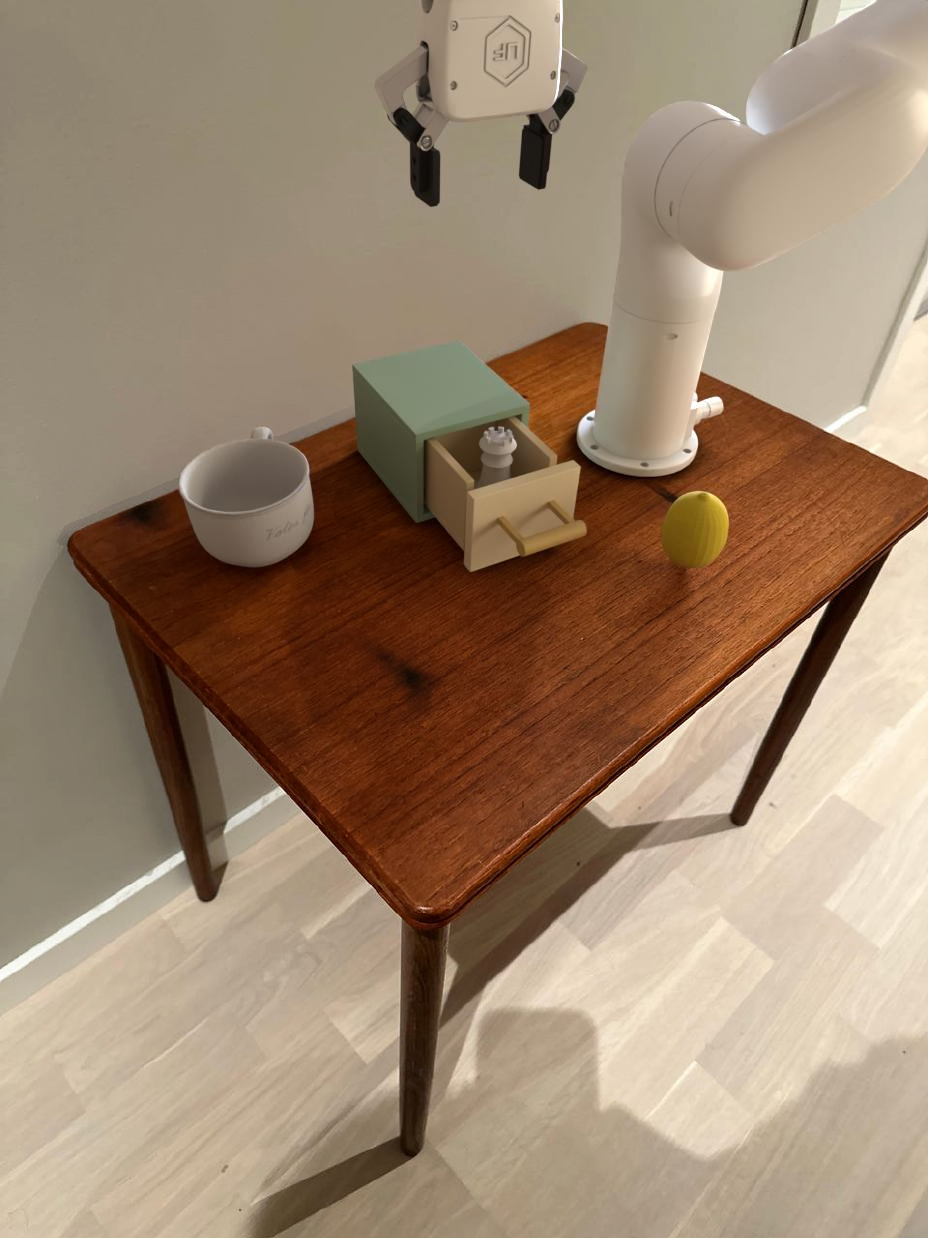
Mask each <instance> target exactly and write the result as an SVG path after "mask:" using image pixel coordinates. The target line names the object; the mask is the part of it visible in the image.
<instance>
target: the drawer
mask: <svg viewBox="0 0 928 1238" xmlns="http://www.w3.org/2000/svg"><path fill="white" fill-rule="evenodd" d="M499 426H500V427H504V432H507V430H508V429H509V430H511V431H512V435H513V438H514V440H515V441H516V444H517V446H516V449H515V450H514V451H513V452H512V453H511V456H512V458H513V461H512V463H511V464H510V477H511V479H508V480H505V481H501V482H498V483H495V484H491V485H488V486H485V487H481V488H478V489H475V490H474V487H475V486H476V484H477V482H478V481H480V477H481V472H482V467H483V462H482V461H481V456H482V454H483V453H484V451H483V450H482V449H481V448H480V445H479V442H480V439H481V438H482V437H483V436H484V432H485V431H488V428H490V427H494V431H498V427H499ZM423 441H424V504H425V505H426V506H427V508H428V509H429V510H430V511H431V512H432V514H433V515H434V516H435V519H436V520H437V521H438V522H439V523H440V525H441V526H442V527H443V528H444V529H445V530H446V532H447V533H448V534H449V536H451V538H452V539H453V540H454V541H455V542H456V544H457V545H458V547H459V548H460V549H461V550H462V551H463V552H464V553H463V565H464V567H465V568H466V569H467V571H468V572H469V573H472V572H476V571H478V570H481V569H485V568H487V567H490V566H493V565H496V564H498V563H501V562H504V561H507V560H511V559H513V558H516V557H519V556H520V557H522V558H524V557H527V556H530V555H533V554H536V553H538V552H539V553H540V552H542V551H544V550H548V549H551V548H554V547H557V546H559V545H562V544H565V543H568V542H571V541H575V540H578V539H580V538H583V537H586V535H587V529H588V528H587V526H586V523H585V522H584V520H582V519H578V520H575V519H574V514H575V508H576V500H577V495H578V487H579V481H580V474H581V469H582V467H581V465H579V464H578V463H577V462H576V461H575V460H574V459H572V460H568V461H565V462H561V463H558V464H557V462H558V455H557V454H556V452H554V451H553V450H552V449H551V448H550V447H548V445H546V443H545V442H543V441H542V440H541V439H540V438H539V437H538V436H537V435H536V434H535V433H533V431H532V430H530V428H529V427H528V428H527V427H526V426H525V425H524V424H523V423H522V422H520V421H519V420H518V419H517V418H516V417H515V416H512V417H508V418H504V419H501V420H497V421H493V422H489V423H486V424H482V425H478V426H475V427H471V428H467V429H463V430H460V431H456V432H452V433H449V434H445V435H441V436H437V437H434V438H430V439H426V440H423Z"/></svg>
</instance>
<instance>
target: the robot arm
mask: <svg viewBox="0 0 928 1238" xmlns="http://www.w3.org/2000/svg"><path fill="white" fill-rule="evenodd" d="M417 5H418V6H417V16H416V18H417V19H416V31H415V49H414V50H413V51H412V52H410V53H409V54H407V55H406V56H405V57H404V58H402V59H401V60H400V61H398V62H397V63H396V64H395V65H393V66H392V67H391V68H389V69H388V70H387V71H385V72H384V73H383V74H382V75H380V76H379V77H378V78H377V79H376V80H375V82H374V89H375V92H376V94H377V96H378V98H379V100H380V103H381V105H382V107H383V109H384V110H385V112H386V117H387V119H388V121H389V122H390V123H391V124H392V125H393V126H394V127H395V129H396V130H397V131H399V133H401V135H402V136H403V138H404V139H405V140H406V141H408V143H409V182H410V187H411V190H412V191H413V193H414V196H415V197H416V198H417V199H419V200H420V201H421V202H423V203H424V204H426V205H427V206H428V207H430V208H433V207H438V205H439V204H440V202H441V151H440V150H439V149H437V148H435V143H436V142H437V141H438V139H439V137H440V136H441V134H442V132H443V131H444V130H445V128H446V126H447V124H448V123H449V121H450V122H454V123H470V122H479V121H480V122H481V121H488V120H497V119H503V118H504V119H506V118H512V117H520V116H526V118H527V120H528V123H529V124H524V125H523V127H522V130H521V136H520V137H521V138H520V154H519V166H518V167H519V168H518V177H519V179H520V180H521V181H522V182H524V183H526V184H527V185H530V186H531V187H532V188H534V189H536V190H538V191H540V190H545V189H546V187H547V179H548V172H549V171H550V164H551V153H552V152H551V151H552V142H553V135H555V134H557V133H558V132H559V130H560V128H561V121H562V120H563V118H564V117H565V116H566V115H567V113H568V112H569V111H570V110H571V108H572V107H573V105H574V104H575V101H576V96H575V95H576V93H578V92H579V89H580V87H581V85H582V82H583V81H584V78H585V77H586V74H587V72H588V64H587V63H586V62H585V61H584V60H582V59H581V58H579V57H578V56H577V55H575V54H573V53H572V52H571V51H569V50H568V49H566V48H565V47H563V46H562V40H563V39H562V38H563V37H562V36H563V35H562V34H563V33H562V31H563V29H562V28H563V0H418V4H417ZM414 83H415V84H414ZM413 84H414V86H415V94H416V95H415V96H416V99H417V101H418V104H417V106H416V107H415V109H414V110H413V112H412V113H411V112H410V111H409V110H408V108H407V105H406V102H405V99H404V94H405V91H406V90H407V89H408V88H409V87H411V86H412V85H413ZM745 119H746V123H745V122H743V121H742V120H740V119H738V118H737V117H735V116H733V115H732V114H730V113H727V112H726V111H724V110H722V109H721V108H719V107H717V106H714V105H712V104H709V103H707V102H706V103H705V102H702V101H697V100H681V101H675V102H672V103H669V104H666V105H664V106H662V107H660V108H659V109H657V110H656V111H654V112H653V113H652V114H651V115H649V117H647V118H646V120H645V121H644V122H643V123H641V126H640V127H639V128H638V129H637V131H636V133H635V134H634V136H633V137H632V140H631V142H630V144H629V146H628V149H627V152H626V155H625V160H624V163H623V170H622V175H621V176H622V177H621V191H620V193H621V195H620V196H621V197H620V203H621V204H620V205H621V210H620V211H621V217H620V218H621V221H620V222H621V223H620V225H621V226H620V244H619V245H620V246H619V253H618V254H619V255H618V263H617V270H616V277H615V283H614V290H613V294H612V300H611V301H612V302H611V307H610V313H609V320H608V327H607V332H606V338H605V345H604V352H603V359H602V364H601V365H602V366H601V371H600V377H599V384H598V391H597V397H596V403H595V408H594V409H593V410H591V411H589V412H587V413H586V414H585V415H584V416H583V417H581V419H580V421H579V422H578V425H577V428H576V429H577V430H576V443H577V446H578V448H579V449H580V451H581V452H582V453H583V454H584V455H585V456H586V457H587V458H588V459H589V460H591V461H592V462H593V463H595V464H596V465H598V466H600V467H602V468H604V469H606V470H609V471H612V472H615V473H617V474H621V475H626V476H632V477H641V478H642V477H643V478H648V477H649V478H650V477H663V476H667V475H672V474H675V473H677V472H680V471H682V470H683V469H685V468H686V467H688V466H689V465H690V464H691V463H692V462H693V461H694V459H695V458H696V455H697V452H698V446H699V439H698V436H697V434H696V432H695V431H694V428H695V427H694V426H695V425H698V424H700V422H701V420H702V419H703V420H704V419H709V418H712V417H716V416H719V415H721V414H722V413H723V411H724V402H723V400H722V398H720V397H719V396H713V397H709V398H706V399H703V400H701V401H699V402H698V398H699V397H698V394H697V392H696V391H697V386H698V382H699V379H700V374H701V370H702V366H703V362H704V357H705V354H706V349H707V346H708V342H709V337H710V334H711V329H712V326H713V321H714V317H715V313H716V311H717V307H718V303H719V299H720V295H721V290H722V285H723V284H722V283H723V277H724V272H727V273H728V272H729V273H730V272H731V273H732V272H741V271H747V270H750V269H753V268H756V267H759V266H762V265H764V264H766V263H768V262H771V261H772V260H775V259H777V258H779V257H780V256H782V255H784V254H786V253H788V252H789V251H792V250H793V249H796V248H797V247H799V246H800V245H802V244H804V243H806V242H807V241H809V240H811V239H813V238H815V237H817V236H819V235H821V234H822V233H825V232H826V231H828V230H830V229H831V228H833V227H836V226H837V225H839V224H840V223H842V222H845V221H846V220H848V219H849V218H851V217H854V216H855V215H857V214H859V213H860V212H862V211H864V210H866V209H868V208H869V207H871V206H872V205H875V204H876V203H877V202H879V201H880V200H882V199H883V198H884V197H886V196H887V195H889V194H890V193H891V192H892V191H894V190H895V189H896V188H897V187H898V186H899V185H900V184H901V183H902V182H903V181H904V180H905V179H906V178H907V177H908V176H909V175H910V173H912V171H913V170H914V168H915V167H916V166H917V165H918V164H919V162H920V160H921V159H922V157H923V155H924V153H925V152H926V150H927V148H928V0H874V1H872V2H871V3H870V4H868V5H866V6H865V7H863V8H861V9H859V10H857V11H856V12H854V13H851V14H850V15H849V16H847V17H845V18H843V19H842V20H840V21H839V22H836V23H835V24H833V25H831V26H830V27H828V28H826V29H825V30H823V31H821V32H819V33H817V34H815V35H814V36H812V37H810V38H808V39H806V40H805V41H803V42H801V43H800V44H797V45H796V46H794V47H792V48H791V49H789V50H787V51H786V52H784V53H783V54H781V55H780V56H779V57H777V58H776V59H775V60H774V61H772V62H771V63H769V65H768V66H766V68H765V69H764V70H763V71H762V72H761V73H760V74H759V76H758V77H757V79H756V81H755V82H754V84H753V85H752V88H751V90H750V92H749V94H748V97H747V100H746V106H745Z"/></svg>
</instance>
